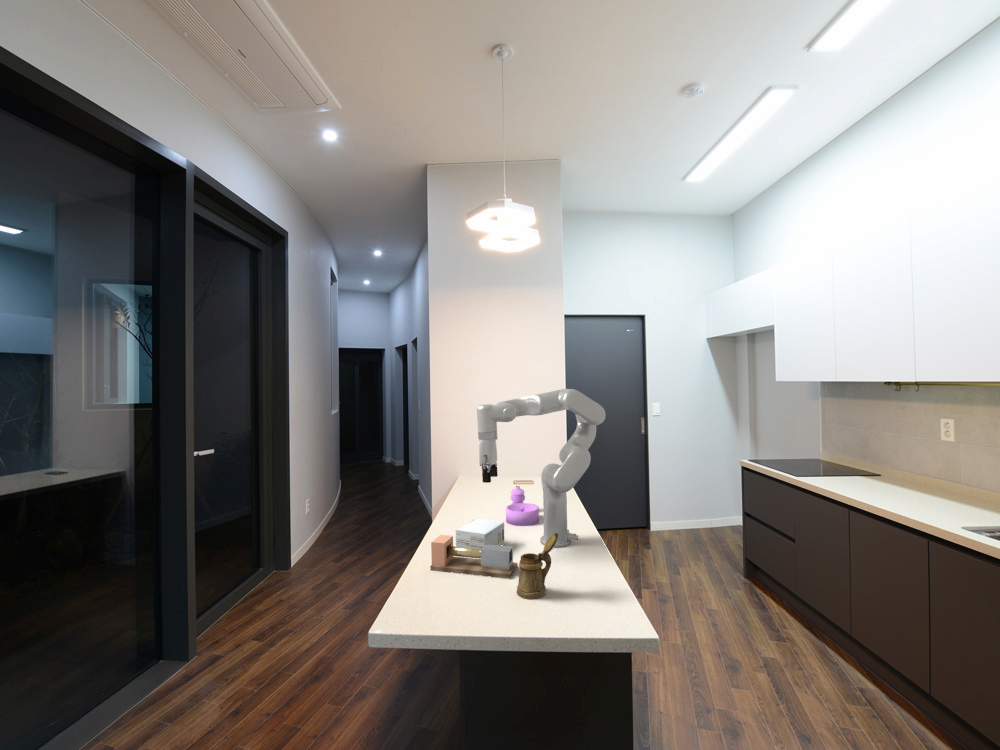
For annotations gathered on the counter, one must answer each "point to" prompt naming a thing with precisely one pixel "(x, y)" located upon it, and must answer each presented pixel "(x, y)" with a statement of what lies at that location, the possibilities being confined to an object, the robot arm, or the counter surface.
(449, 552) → the tube
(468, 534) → the supplement box
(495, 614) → the counter surface
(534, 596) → the wooden mug
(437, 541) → the socket block
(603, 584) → the counter surface
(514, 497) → the container set
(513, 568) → the base board
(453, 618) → the counter surface
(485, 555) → the sleeve
